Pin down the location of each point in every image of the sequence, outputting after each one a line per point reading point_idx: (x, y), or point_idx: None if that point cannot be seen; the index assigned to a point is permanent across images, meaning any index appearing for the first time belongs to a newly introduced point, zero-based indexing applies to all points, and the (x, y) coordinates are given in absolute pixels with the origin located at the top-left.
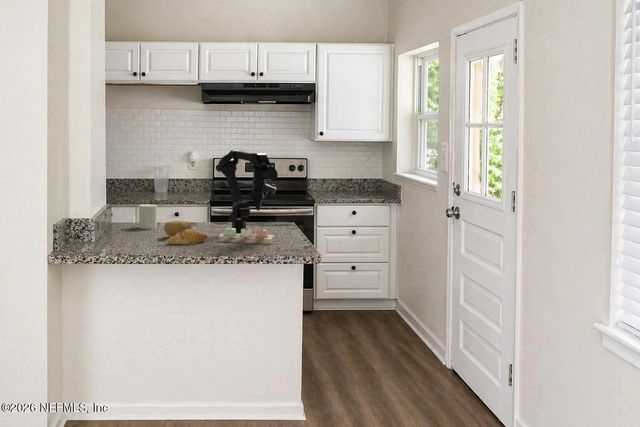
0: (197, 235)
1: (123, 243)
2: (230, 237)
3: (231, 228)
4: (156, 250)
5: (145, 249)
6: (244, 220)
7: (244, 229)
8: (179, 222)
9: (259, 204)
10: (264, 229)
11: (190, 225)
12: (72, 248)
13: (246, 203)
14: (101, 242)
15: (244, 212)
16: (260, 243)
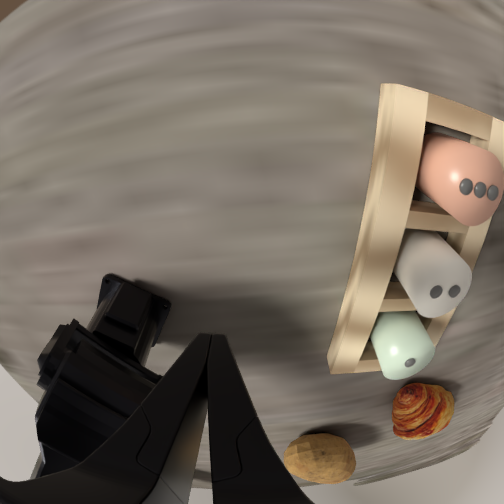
0: (447, 402)
1: (399, 456)
2: (445, 324)
3: (415, 359)
4: (487, 402)
5: (470, 417)
6: (98, 337)
7: (443, 300)
8: (340, 474)
9: (254, 419)
10: (456, 170)
11: (316, 456)
12: (427, 464)
13: (57, 436)
14: (382, 470)
15: (120, 392)
16: None
